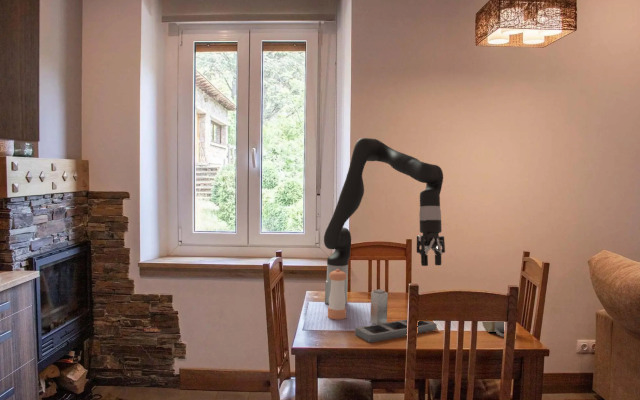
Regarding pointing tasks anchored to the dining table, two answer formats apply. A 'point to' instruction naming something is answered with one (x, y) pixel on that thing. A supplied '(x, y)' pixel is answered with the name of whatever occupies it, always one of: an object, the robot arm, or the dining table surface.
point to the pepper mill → (337, 295)
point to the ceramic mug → (494, 327)
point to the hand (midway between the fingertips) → (431, 265)
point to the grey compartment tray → (390, 330)
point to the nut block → (378, 307)
